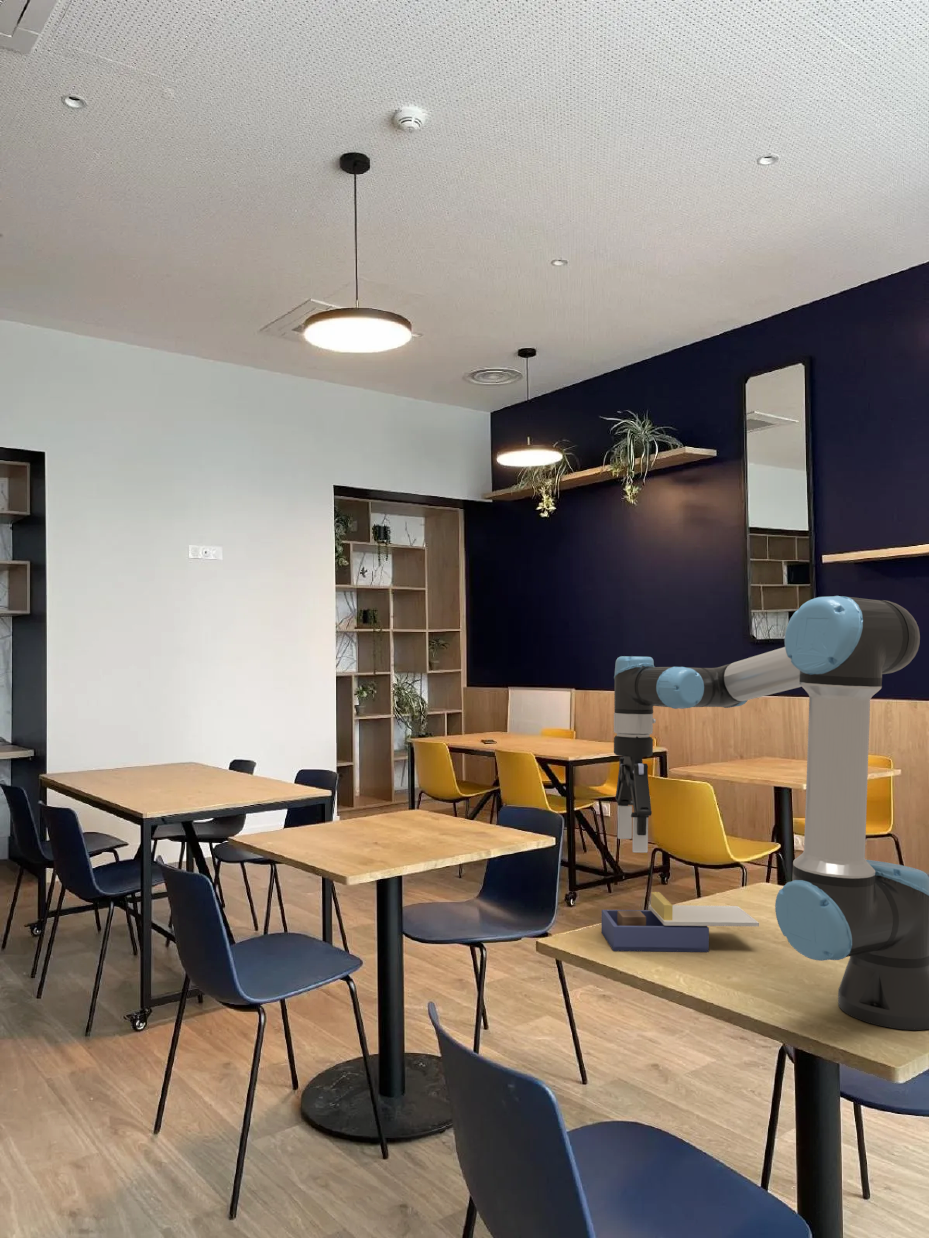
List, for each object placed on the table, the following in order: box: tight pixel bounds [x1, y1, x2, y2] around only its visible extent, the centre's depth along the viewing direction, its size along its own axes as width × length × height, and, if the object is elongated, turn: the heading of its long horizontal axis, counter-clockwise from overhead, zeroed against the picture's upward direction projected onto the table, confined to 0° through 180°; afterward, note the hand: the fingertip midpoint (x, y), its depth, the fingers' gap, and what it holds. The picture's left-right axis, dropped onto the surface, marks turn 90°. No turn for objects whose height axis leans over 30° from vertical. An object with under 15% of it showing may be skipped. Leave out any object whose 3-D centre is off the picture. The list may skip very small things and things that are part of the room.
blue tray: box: [600, 909, 710, 953], centre depth 181 cm, size 12×18×4 cm, turn 92°
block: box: [617, 911, 646, 926], centre depth 181 cm, size 4×4×4 cm
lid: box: [648, 891, 760, 928], centre depth 182 cm, size 12×18×4 cm, turn 92°
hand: (632, 845), depth 182 cm, fingers open, 13 cm apart
